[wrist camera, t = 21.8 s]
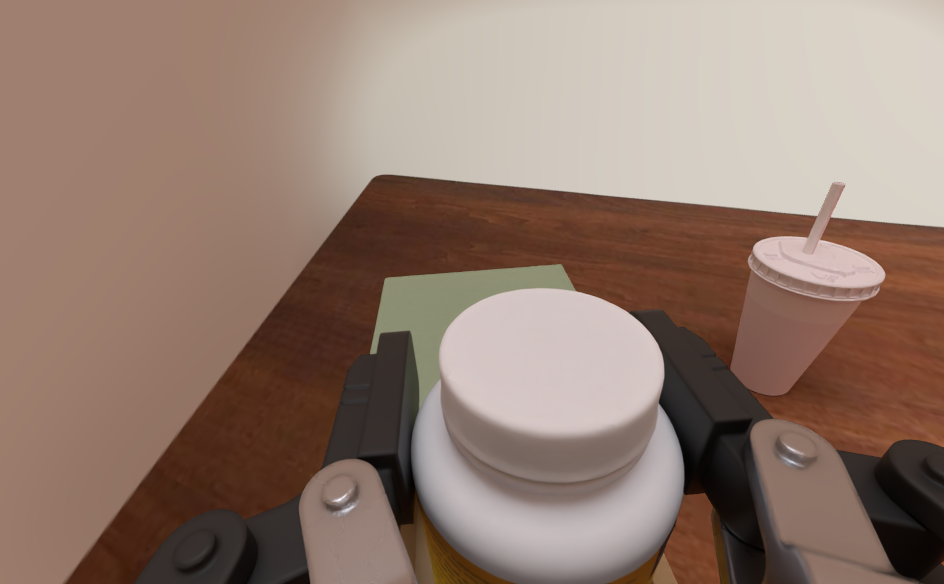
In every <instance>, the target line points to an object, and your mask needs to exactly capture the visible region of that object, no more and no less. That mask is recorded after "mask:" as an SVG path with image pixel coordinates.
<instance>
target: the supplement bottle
mask: <svg viewBox="0 0 944 584" xmlns="http://www.w3.org/2000/svg"><path fill="white" fill-rule="evenodd" d="M439 370H440V380H439V381H438V382H437V383H436V384H435V385H434V387H433V388H432V389H431V391H430V392H429V393H428V395H427V397H426V398H425V400H424V401H423V403H422V405H421V407H420V410H419V412H418V415H417V417H416V420H415V424H414V427H413V432H412V439H411V465H412V474H413V480H414V485H415V489H416V494H417V499H418V503H419V508H420V513H421V518H422V522H423V527H424V532H425V537H426V542H427V546H428V551H429V556H430V560H431V565H432V571H433V576H434V580H435V584H651V582H652V580H653V577H654V574H655V571H656V568H657V566H658V564H659V561H660V559H661V557H662V555H663V553H664V550H665V547H666V543H667V541H668V539H669V537H670V535H671V533H672V531H673V529H674V527H675V524H676V520H677V515H678V512H679V508H680V505H681V502H682V498H683V490H684V463H683V456H682V451H681V447H680V444H679V441H678V438H677V435H676V433H675V430H674V428H673V425H672V423H671V422H670V420H669V418H668V416H667V414H666V413H665V411H664V410H663V408H662V407H661V406H660V404H659V399H660V395H661V391H662V388H663V382H664V361H663V356H662V353H661V351H660V348H659V346H658V343H657V342H656V340H655V339H654V337H653V336H652V335H651V333H650V332H649V331H648V330H647V329H646V328H645V327H644V326H643V324H641V323H640V322H639V321H638V320H637V319H636V318H634V317H633V316H632V315H630V314H629V313H628V312H626V311H624V310H623V309H621V308H619V307H617V306H615V305H613V304H611V303H609V302H607V301H605V300H602V299H600V298H597V297H594V296H591V295H588V294H584V293H580V292H575V291H569V290H562V289H550V288H534V289H520V290H514V291H509V292H504V293H500V294H497V295H493V296H491V297H488V298H486V299H483V300H481V301H479V302H477V303H475V304H474V305H472V306H470V307H469V308H467V309H466V310H464V311H463V312H462V313H461V314H460V315H459V316H458V317H456V318H455V320H454V321H453V322H452V323H451V324H450V326H449V327H448V328H447V330H446V332H445V334H444V336H443V338H442V341H441V345H440V348H439Z"/></svg>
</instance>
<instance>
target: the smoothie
mask: <svg viewBox="0 0 944 584" xmlns="http://www.w3.org/2000/svg"><path fill="white" fill-rule="evenodd" d="M844 187H845V184H844V183H840V182H833V183H832V186H831V188H830V190H829V192H828V194H827V197H826V199H825V201H824V203H823V206H822V208H821V210H820V212H819V214H818V217H817V219H816V221H815V223H814V226H813V228H812V230H811V232H810V234H809V237H808V238H803V237H789V236H786V237H773V238H768V239H764V240H761V241H759V242H758V243H756V244H755V245H754V248H753V250H752V253H751V255H750V256H749V259H748V264H749V267H750V268H751V269H752V270H751V274H750V278H749V282H748V287H747V292H746V297H745V302H744V306H743V311H742V316H741V320H740V325H739V330H738V334H737V339H736V344H735V348H734V353H733V357H732V362H731V367H730V370H731V371H732V372H733V373H734V374H735V376H736V377H737V378H738V379H739V380H740V381H741V382H742V383H743V385H744V386H745V387H746V388H748V389H750V390H752V391H754V392H757V393H760V394H764V395H770V396H779V395H783V394H785V393H787V392H788V391H789V390H790V389H791V387H792V386H793V385H794V384H795V383H796V381H797V380H798V379H799V378H800V376H801V375H802V374H803V373H804V372H805V370H806V369H807V368H808V367H809V365H810V364H811V363H812V362H813V361H814V359H815V358H816V357H817V356H818V354H819V353H820V352H821V351H822V350H823V348H824V347H825V346H826V345H827V343H828V342H829V341H830V340H831V339H832V337H833V336H834V335H835V334H836V332H837V331H838V330H839V329H840V328H841V326H842V325H843V324H844V323H845V321H846V320H847V319H848V318H849V317H850V316H851V315H852V313H853V312H854V311H855V309H856V308H857V307H858V306H859V304H860V303H861V302H862V300H867V299H869V298H871V297H874V296H875V295H876V294H877V293H878V292H879V290H880V288H879V287H880V285H881V283H882V282H883V280H884V278H885V272H884V270H883V269H882V267H881V266H880V265H879V264H878V263H877V262H875V261H874V260H873V259H871V258H869V257H868V256H866V255H864V254H862V253H860V252H858V251H855V250H853V249H850V248H847V247H845V246H842V245H838V244H835V243H831V242H827V241H822V240H820V238H821V236H822V234H823V232H824V230H825V227H826V225H827V223H828V221H829V219H830V217H831V214H832V212H833V210H834V208H835V206H836V204H837V202H838V200H839V197H840V195H841V193H842V191H843V189H844Z"/></svg>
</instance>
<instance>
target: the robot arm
mask: <svg viewBox="0 0 944 584" xmlns="http://www.w3.org/2000/svg"><path fill="white" fill-rule="evenodd" d="M629 314H630V315H632V316H633V317H634V318H636V319H637V320H638V321H639V322H640V323H641V324H643V326H644V327H645V328H646V329H647V330H648V331H649V332H650V333H651V335H652V336H653V337H654V339H655V340H656V342H657V343H658V346H659V348H660V351H661V353H662V356H663V361H664V382H663V388H662V391H661V395H660V399H659V404H660V406H661V407H662V408H663V410H664V411H665V413H666V414H667V416H668V418H669V420H670V422H671V423H672V425H673V428H674V430H675V433H676V435H677V438H678V441H679V444H680V447H681V451H682V456H683V463H684V490H683V492H684V494H685V495H690V494H700V493H706V495H707V497H708V499H709V500H710V502H711V504H712V505H713V507H714V508H713V510H712V514H711V521H712V528H713V535H714V541H715V548H716V555H717V562H718V569H719V576H720V582H721V584H944V566H943V565H942V564H941V563H942V562H943V561H944V448H943V447H941V446H938V445H935V444H932V443H928V442H924V441H919V440H900V441H897V442H895V443H894V444H892V445H891V447H890V448H889V449H888V450H887V452H886V453H885V454H884V455H883V457H882V458H880V457H874V456H869V455H863V454H857V453H851V452H845V451H840V450H835V449H834V448H833V447H832V446H831V445H830V444H829V443H828V442H827V441H826V440H825V439H824V438H822V437H821V436H819V435H818V434H816V433H815V432H813V431H811V430H810V429H808V428H806V427H804V426H801V425H799V424H796V423H793V422H790V421H786V420H780V419H774V418H773V417H772V416H771V415H770V414H769V413H768V412H767V410H766V409H765V408H764V407H763V406H762V405H761V404H760V403H759V401H758V400H757V399H756V398H755V397H754V396H753V395H752V394H751V392H750V391H749V390H748V389H747V388H746V387H745V386H744V385H743V383H742V382H741V381H740V380H739V379H738V378H737V377H736V376H735V374H734V373H733V372H732V371H731V370H728V369H727V365H726V364H725V363H724V362H723V361H722V360H721V359H720V358H719V357H717V356H716V353H715V352H714V351H713V350H712V349H711V347H710V346H709V345H708V344H707V343H706V342H705V341H704V340H703V339H702V338H701V337H699V336H697V335H696V334H694V333H693V332H691V331H689V330H688V329H686V328H685V327H676V325H675V324H674V323H673V322H672V321H671V319H670V318H669V317H668V316H667V315H666V313H665V312H664V311H663V310H661V309H654V310H642V311H631V312H629ZM343 388H344V391H342V395H341V399H340V406H338V410H337V414H336V418H335V421H334V425H333V429H332V433H331V436H330V440H329V444H328V448H327V451H326V455H325V459H324V462H323V465H322V468H321V470H320V471H319V472H318V473H317V474H316V475H315V476H314V477H313V478H312V479H311V480H310V481H309V483H308V484H307V486H306V487H305V489H304V491H303V492H302V493H300V494H299V495H298V496H296V497H295V498H293V499H292V500H290V501H288V502H286V503H284V504H282V505H280V506H277V507H275V508H272V509H270V510H268V511H265V512H263V513H260V514H258V515H255V516H253V517H250V518H248V519H245V520H243V518H242V517H241V516H240V515H239V514H238V513H236V512H234V511H232V510H227V509H217V510H212V511H208V512H205V513H202V514H200V515H198V516H196V517H194V518H192V519H190V520H188V521H187V522H185V523H184V524H183V525H181V526H180V527H178V528H177V529H176V530H175V531H174V532H173V533H172V534H171V535H170V536H169V537H168V538H167V539H166V540H165V541H164V542H163V543H162V545H161V546H160V547H159V548H158V550H157V551H156V553H155V554H154V555H153V557H152V558H151V560H150V561H149V562H148V564H147V565H146V567H145V568H144V569H143V571H142V572H141V574H140V575H139V577H138V578H137V579H136V581H135V582H134V584H419V582H418V580H417V578H416V575H415V572H414V570H413V567H412V564H411V561H410V559H409V556H408V553H407V550H406V548H405V545H404V542H403V539H402V537H401V534H400V530H401V525H407V524H414V507H415V485H414V480H413V474H412V465H411V439H412V432H413V427H414V424H415V420H416V417H417V415H418V412H419V378H418V371H417V365H416V359H415V353H414V346H413V340H412V335H411V331H410V330H409V331H397V332H385V333H381V334H380V336H379V341H378V347H377V352H376V354H366V355H360V356H359V357H358V359H357V360H356V361H355V362H354V364H353V365H352V366H351V367H350V369H349V370H348V372H347V376H346V380H345V384H344V387H343Z"/></svg>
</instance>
